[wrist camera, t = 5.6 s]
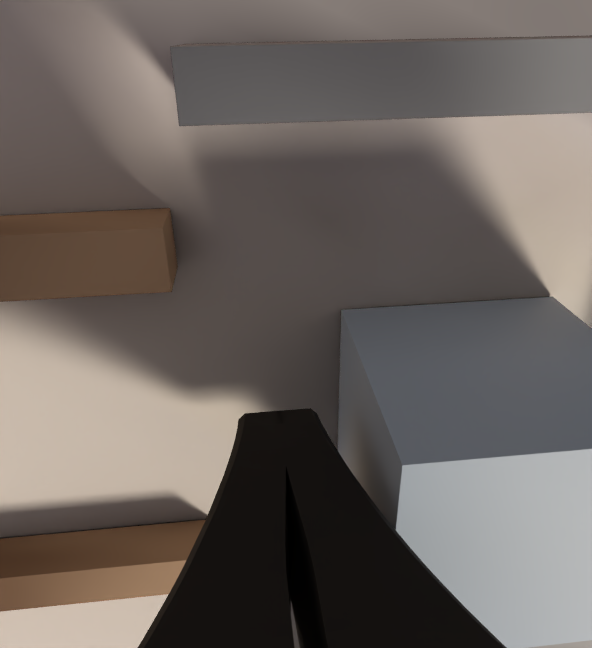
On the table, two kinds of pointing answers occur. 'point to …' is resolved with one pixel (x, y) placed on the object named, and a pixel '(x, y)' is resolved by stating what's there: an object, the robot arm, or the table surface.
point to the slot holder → (84, 281)
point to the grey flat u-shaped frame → (382, 86)
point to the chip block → (480, 452)
